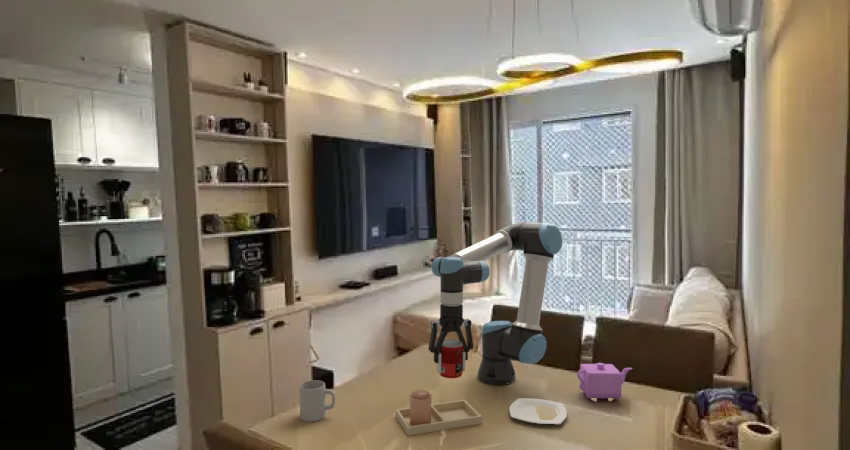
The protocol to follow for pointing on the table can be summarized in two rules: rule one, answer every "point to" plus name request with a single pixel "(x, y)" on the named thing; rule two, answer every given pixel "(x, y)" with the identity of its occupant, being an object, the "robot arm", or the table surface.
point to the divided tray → (441, 417)
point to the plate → (527, 411)
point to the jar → (420, 407)
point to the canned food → (451, 358)
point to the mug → (314, 400)
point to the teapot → (601, 380)
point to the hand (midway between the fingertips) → (450, 371)
